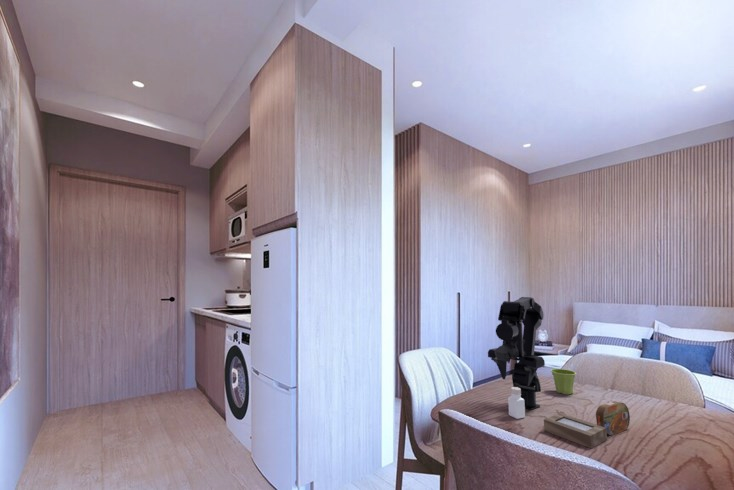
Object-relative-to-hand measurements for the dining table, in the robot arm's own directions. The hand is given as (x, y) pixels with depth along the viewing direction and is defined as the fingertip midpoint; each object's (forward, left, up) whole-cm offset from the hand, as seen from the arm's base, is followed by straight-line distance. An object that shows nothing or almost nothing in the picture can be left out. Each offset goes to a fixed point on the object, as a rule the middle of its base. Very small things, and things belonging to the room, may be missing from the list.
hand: (515, 382), depth 118 cm
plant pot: (-42, -5, -12) cm, 44 cm away
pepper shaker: (0, 0, -12) cm, 12 cm away
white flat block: (-2, +18, -10) cm, 20 cm away
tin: (-16, +23, -12) cm, 30 cm away
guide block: (-2, +18, -11) cm, 21 cm away
